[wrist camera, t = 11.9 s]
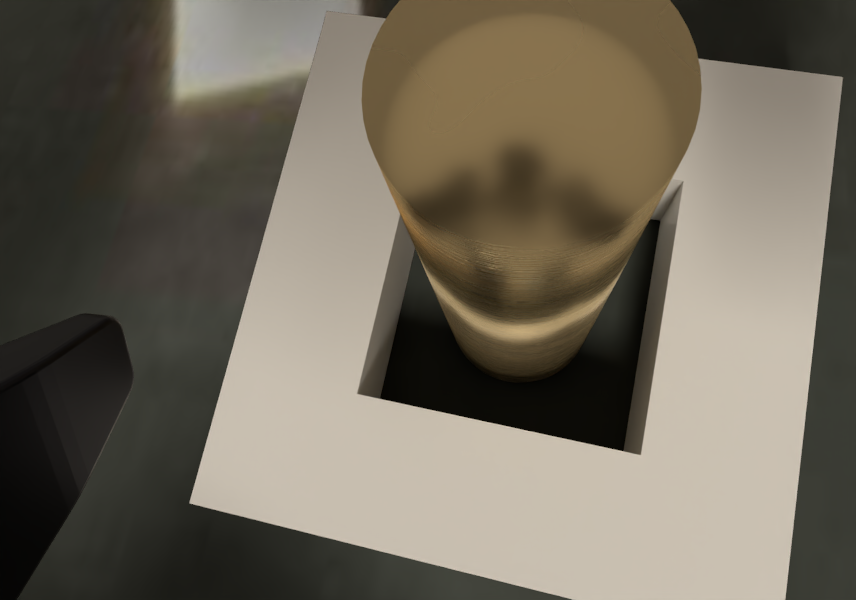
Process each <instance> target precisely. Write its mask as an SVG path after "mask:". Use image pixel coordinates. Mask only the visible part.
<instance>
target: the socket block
mask: <svg viewBox="0 0 856 600" xmlns="http://www.w3.org/2000/svg"><path fill="white" fill-rule="evenodd" d="M385 20H386V19H385V18H378V17H370V16H362V15H354V14H346V13H339V12H331V11H327V12H326V16H325V19H324V23H323V27H322V30H321V34H320V37H319V41H318V45H317V48H316V52H315V55H314V59H313V62H312V66H311V70H310V73H309V77H308V80H307V84H306V87H305V91H304V95H303V98H302V102H301V105H300V109H299V113H298V116H297V120H296V123H295V127H294V130H293V134H292V138H291V141H290V145H289V148H288V152H287V155H286V159H285V163H284V166H283V170H282V173H281V177H280V181H279V184H278V188H277V191H276V195H275V198H274V202H273V206H272V209H271V213H270V216H269V220H268V223H267V227H266V231H265V234H264V238H263V241H262V245H261V249H260V252H259V256H258V259H257V263H256V266H255V270H254V274H253V277H252V281H251V284H250V288H249V291H248V295H247V299H246V302H245V306H244V309H243V313H242V317H241V320H240V324H239V327H238V331H237V334H236V338H235V342H234V345H233V349H232V352H231V356H230V359H229V363H228V367H227V370H226V374H225V377H224V381H223V385H222V388H221V392H220V395H219V399H218V402H217V406H216V410H215V413H214V417H213V420H212V424H211V427H210V431H209V435H208V438H207V442H206V445H205V449H204V453H203V456H202V460H201V463H200V467H199V470H198V474H197V478H196V481H195V485H194V488H193V492H192V495H191V499H190V504H194V505H198V506H202V507H206V508H210V509H214V510H218V511H222V512H226V513H230V514H234V515H238V516H242V517H246V518H250V519H254V520H258V521H262V522H266V523H270V524H274V525H278V526H282V527H286V528H290V529H294V530H298V531H302V532H306V533H310V534H314V535H318V536H322V537H326V538H330V539H334V540H338V541H342V542H346V543H350V544H354V545H358V546H362V547H366V548H370V549H374V550H378V551H382V552H386V553H390V554H394V555H398V556H402V557H406V558H410V559H414V560H418V561H422V562H426V563H430V564H434V565H438V566H442V567H446V568H450V569H454V570H458V571H462V572H466V573H470V574H474V575H478V576H482V577H486V578H490V579H494V580H498V581H502V582H506V583H510V584H514V585H518V586H522V587H526V588H530V589H534V590H538V591H542V592H546V593H550V594H554V595H558V596H562V597H566V598H570V599H574V600H785V596H786V587H787V578H788V569H789V560H790V551H791V542H792V533H793V524H794V515H795V506H796V497H797V488H798V479H799V470H800V460H801V451H802V442H803V433H804V424H805V415H806V406H807V397H808V388H809V379H810V370H811V361H812V352H813V343H814V334H815V325H816V316H817V306H818V297H819V288H820V279H821V270H822V261H823V252H824V243H825V234H826V225H827V216H828V207H829V198H830V189H831V180H832V171H833V161H834V152H835V143H836V134H837V125H838V116H839V107H840V98H841V89H842V80H843V77H838V76H830V75H822V74H814V73H807V72H799V71H791V70H783V69H775V68H768V67H760V66H752V65H744V64H736V63H729V62H721V61H713V60H705V59H698V60H699V64H700V70H701V84H702V92H701V105H700V112H699V116H698V121H697V125H696V129H695V132H694V134H693V137H692V139H691V142H690V145H689V147H688V150H687V151H686V153H685V155H684V157H683V159H682V161H681V163H680V164H679V166H678V168H677V170H676V172H675V174H674V176H673V178H672V179H671V181H670V183H669V185H668V187H667V189H666V191H665V192H664V194H663V196H662V198H661V200H660V202H659V204H658V205H657V207H656V209H655V211H654V213H653V215H652V217H651V218H650V219H653V220H659V221H660V226H659V233H658V239H657V245H656V251H655V258H654V264H653V270H652V276H651V282H650V289H649V295H648V301H647V307H646V314H645V320H644V326H643V332H642V338H641V345H640V351H639V357H638V363H637V370H636V376H635V382H634V388H633V394H632V401H631V407H630V413H629V419H628V426H627V432H626V438H625V444H624V450H623V451H619V450H615V449H610V448H605V447H601V446H596V445H591V444H587V443H582V442H577V441H573V440H568V439H564V438H559V437H554V436H550V435H545V434H540V433H536V432H531V431H526V430H522V429H517V428H513V427H508V426H503V425H499V424H494V423H489V422H485V421H480V420H475V419H471V418H466V417H461V416H457V415H452V414H448V413H443V412H438V411H434V410H429V409H424V408H420V407H415V406H410V405H406V404H401V403H397V402H392V401H387V400H383V399H380V396H381V392H382V388H383V384H384V379H385V375H386V371H387V366H388V362H389V358H390V354H391V349H392V345H393V341H394V336H395V332H396V328H397V323H398V319H399V315H400V311H401V306H402V302H403V298H404V293H405V289H406V285H407V281H408V276H409V272H410V268H411V263H412V259H413V255H414V251H415V247H414V244H413V242H412V240H411V238H410V235H409V233H408V231H407V229H406V226H405V224H404V222H403V220H402V217H401V215H400V213H399V210H398V208H397V206H396V204H395V201H394V199H393V197H392V195H391V192H390V190H389V188H388V186H387V183H386V181H385V179H384V177H383V174H382V172H381V170H380V168H379V165H378V163H377V161H376V159H375V156H374V154H373V151H372V149H371V146H370V144H369V141H368V138H367V134H366V130H365V126H364V121H363V112H362V102H361V101H362V81H363V76H364V71H365V66H366V61H367V58H368V55H369V52H370V49H371V46H372V44H373V42H374V40H375V38H376V36H377V34H378V31H379V29H380V27H381V26H382V24H383V23H384V21H385Z"/></svg>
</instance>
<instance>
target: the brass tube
mask: <svg viewBox="0 0 856 600" xmlns="http://www.w3.org/2000/svg"><path fill="white" fill-rule="evenodd" d="M701 92H702V84H701V70H700V64H699V60H698V55H697V51H696V47H695V45H694V42H693V39H692V37H691V34H690V32H689V29H688V27H687V26H686V24H685V22H684V20H683V18H682V17H681V15H680V13H679V11H678V10H677V9H676V8H675V6H674V5H673V4H672V2H671V1H670V0H400V1H399V2H398V3H397V5H396V6H395V7H394V8H393V9H392V11H391V12H390V14H389V15H388V17H387V18H386V20H385V21H384V23H383V24H382V26H381V27H380V29H379V31H378V34H377V36H376V38H375V40H374V42H373V44H372V46H371V49H370V52H369V55H368V58H367V61H366V66H365V71H364V76H363V81H362V101H361V102H362V112H363V121H364V126H365V130H366V134H367V138H368V141H369V144H370V146H371V149H372V151H373V154H374V156H375V159H376V161H377V163H378V165H379V168H380V170H381V172H382V174H383V177H384V179H385V181H386V183H387V186H388V188H389V190H390V192H391V195H392V197H393V199H394V201H395V204H396V206H397V208H398V210H399V213H400V215H401V217H402V220H403V222H404V224H405V226H406V229H407V231H408V233H409V235H410V238H411V240H412V242H413V244H414V247H415V249H416V251H417V253H418V256H419V258H420V260H421V262H422V265H423V267H424V269H425V271H426V274H427V276H428V278H429V280H430V283H431V285H432V287H433V289H434V292H435V294H436V296H437V298H438V301H439V303H440V305H441V308H442V310H443V312H444V314H445V317H446V319H447V321H448V323H449V326H450V328H451V330H452V332H453V335H454V337H455V339H456V341H457V344H458V346H459V347H460V349H461V351H462V352H463V354H464V355H465V356H466V358H467V359H468V360H469V361H470V362H471V363H472V364H473V365H474V366H475V367H476V368H478V369H479V370H480V371H482V372H484V373H485V374H487V375H489V376H491V377H493V378H496V379H499V380H502V381H506V382H513V383H528V382H535V381H539V380H543V379H545V378H548V377H550V376H552V375H554V374H556V373H557V372H559V371H560V370H562V369H563V368H564V367H566V366H567V365H568V364H569V363H570V362H571V361H572V360H573V359H574V357H575V356H576V355H577V353H578V352H579V350H580V348H581V347H582V345H583V343H584V341H585V339H586V337H587V336H588V334H589V332H590V330H591V328H592V326H593V324H594V323H595V321H596V319H597V317H598V315H599V313H600V311H601V310H602V308H603V306H604V304H605V302H606V300H607V298H608V296H609V295H610V293H611V291H612V289H613V287H614V285H615V283H616V282H617V280H618V278H619V276H620V274H621V272H622V270H623V269H624V267H625V265H626V263H627V261H628V259H629V257H630V256H631V254H632V252H633V250H634V248H635V246H636V244H637V243H638V241H639V239H640V237H641V235H642V233H643V231H644V230H645V228H646V226H647V224H648V222H649V220H650V218H651V217H652V215H653V213H654V211H655V209H656V207H657V205H658V204H659V202H660V200H661V198H662V196H663V194H664V192H665V191H666V189H667V187H668V185H669V183H670V181H671V179H672V178H673V176H674V174H675V172H676V170H677V168H678V166H679V164H680V163H681V161H682V159H683V157H684V155H685V153H686V151H687V150H688V147H689V145H690V142H691V139H692V137H693V134H694V132H695V129H696V125H697V121H698V116H699V112H700V105H701Z"/></svg>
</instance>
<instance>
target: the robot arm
mask: <svg viewBox="0 0 856 600" xmlns="http://www.w3.org/2000/svg"><path fill="white" fill-rule="evenodd" d="M133 381H134V371H133V366H132V362H131V358H130V355H129V351H128V347H127V343H126V339H125V336H124V332H123V328H122V325H121V324H120V322H119V321H118V320H117V319H116V318H114V317H112V316H106V315H97V314H86V313H85V314H79V315H76V316H74V317H71V318H69V319H66V320H64V321H61V322H59V323H56V324H54V325H51V326H49V327H46V328H44V329H41V330H39V331H36V332H34V333H31V334H29V335H26V336H24V337H21V338H18V339H16V340H13V341H11V342H8V343H6V344H3V345H1V346H0V600H17V598H18V597H19V595H20V593H21V592H22V590H23V589H24V587H25V585H26V584H27V582H28V580H29V579H30V577H31V576H32V574H33V572H34V571H35V569H36V567H37V566H38V564H39V563H40V561H41V559H42V558H43V556H44V554H45V553H46V551H47V550H48V548H49V546H50V545H51V543H52V541H53V540H54V538H55V537H56V535H57V533H58V532H59V530H60V528H61V527H62V525H63V524H64V522H65V520H66V519H67V517H68V515H69V514H70V512H71V510H72V509H73V507H74V505H75V503H76V502H77V500H78V498H79V497H80V495H81V493H82V491H83V489H84V487H85V485H86V483H87V481H88V479H89V478H90V475H91V473H92V471H93V469H94V467H95V465H96V463H97V461H98V459H99V457H100V455H101V452H102V450H103V448H104V446H105V444H106V442H107V440H108V438H109V436H110V434H111V432H112V429H113V427H114V425H115V423H116V421H117V419H118V417H119V415H120V413H121V411H122V409H123V407H124V404H125V402H126V400H127V398H128V396H129V394H130V392H131V389H132V386H133Z"/></svg>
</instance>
